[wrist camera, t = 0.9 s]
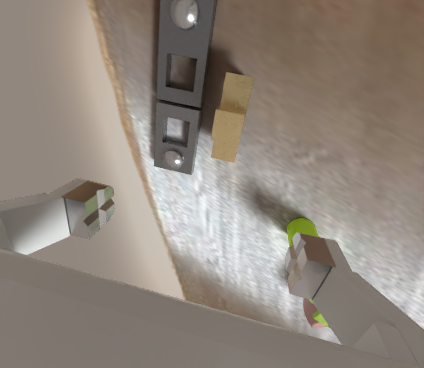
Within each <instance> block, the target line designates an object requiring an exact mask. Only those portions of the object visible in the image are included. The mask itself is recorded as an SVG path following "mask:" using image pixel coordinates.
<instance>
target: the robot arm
mask: <svg viewBox="0 0 424 368" xmlns="http://www.w3.org/2000/svg"><path fill="white" fill-rule="evenodd" d="M113 196H114V190H113V188H112V187H111V186H108V185H105V184H101V183H97V182H93V181H89V180H85V179H82V178H77V179H75V180H73V181H71V182H69V183H68V184H66V185H64V186H62V187H60V188H58V189H56V190H54V191H53V192H51V193H49V194H47V193H42V194H37V195H31V196H26V197H20V198H15V199H9V200H4V201H0V368H424V329H423V328H421V327H420V326H419V325H418V324H417V323H416V322H414V321H413V320H412V319H411V318H410V317H408V316H407V315H406V314H405V313H404V312H402V311H401V310H400V309H399V308H398V307H397V306H395V305H394V304H393V303H392V302H391V301H389V300H388V299H387V298H386V297H385V296H384V295H382V294H381V293H380V292H379V291H378V290H376V289H375V288H374V287H373V286H372V285H370V284H369V283H368V282H367V281H366V280H365V279H363V278H362V277H361V276H360V275H359V274H357V273H355V272H352V270H351V268H350V266H349V264H348V262H347V260H346V258H345V256H344V255H343V253H342V251H341V249H340V247H339V245H338V243H337V242H336V241H335V240H330V239H326V238H320V237H316V236H311V235H307V234H303V233H298V232H297V233H296V234H295V235H294V237H293V239H292V240H293V246H291V247H289V248H288V251H287V253H286V258H285V268H286V271H287V272H288V273H289V274H290V275H289V277H288V279H287V280H288V286H289V292H290V294H293V295H296V296H299V297H303V298H306V299H309V300H312V302H313V304H314V305H315V306H316V308H317V309H318V311H319V312H320V314H321V315H322V316H323V318H324V319H325V321H326V322H327V324H328V325H329V326H330V328H331V329H332V331H333V332H334V334H335V335H336V336H337V338H338V339H339V341H340V342H341V344H342V345H339V344H336V343H332V342H329V341H325V340H322V339H318V338H315V337H311V336H308V335H304V334H301V333H297V332H294V331H290V330H287V329H283V328H280V327H276V326H273V325H269V324H266V323H262V322H259V321H255V320H252V319H248V318H245V317H241V316H238V315H235V314H231V313H228V312H224V311H221V310H217V309H214V308H210V307H207V306H203V305H200V304H196V303H193V302H189V301H186V300H182V299H179V298H175V297H172V296H168V295H165V294H161V293H158V292H154V291H150V290H147V289H144V288H140V287H137V286H133V285H129V284H126V283H123V282H119V281H116V280H112V279H108V278H105V277H102V276H98V275H94V274H91V273H87V272H84V271H81V270H77V269H74V268H70V267H66V266H63V265H60V264H56V263H53V262H49V261H45V260H42V259H39V258H35V257H31V256H28V255H27V254H30V253H32V252H34V251H36V250H39V249H41V248H43V247H46V246H48V245H50V244H52V243H55V242H57V241H59V240H62V239H64V238H66V237H69V236H70V235H74V236H78V237H82V238H86V239H90V238H91V237H92V236H93V235H95V234H96V232H98V231H99V230H100V225H102V224H105V223H107V222H108V221H109V220H110V219H111V217H112V215H113V213H114V209H115V207H114V206H115V205H114V202H113V201H112V199H111V198H112V197H113Z"/></svg>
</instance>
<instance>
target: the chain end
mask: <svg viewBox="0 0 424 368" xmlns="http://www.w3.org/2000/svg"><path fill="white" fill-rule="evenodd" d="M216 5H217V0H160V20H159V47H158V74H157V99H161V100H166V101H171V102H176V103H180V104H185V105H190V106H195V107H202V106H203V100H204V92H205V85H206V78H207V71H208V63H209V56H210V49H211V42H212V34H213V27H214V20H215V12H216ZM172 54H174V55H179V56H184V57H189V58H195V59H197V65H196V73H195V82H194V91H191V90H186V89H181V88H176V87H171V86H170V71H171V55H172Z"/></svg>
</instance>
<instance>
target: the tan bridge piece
mask: <svg viewBox="0 0 424 368" xmlns="http://www.w3.org/2000/svg"><path fill="white" fill-rule="evenodd" d="M253 81H254V77H250V76H245V75H239V74H234V73H229V72H226V76H225V81H224V87H223V93H222V98H221V104H220V106H219V107H218V108H217V109H216V111H215V117H214V123H213V129H212V135H211V138H213V139H214V144H213V150H212V155H211V158H216V159H220V160H224V161H229V162H233V163H234V161H235V157H236V153H237V149H238V145H239V140H240V136H241V132H242V128H243V123H244V119H245V115H246V111H247V106H248V102H249V98H250V94H251V89H252V85H253Z"/></svg>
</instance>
